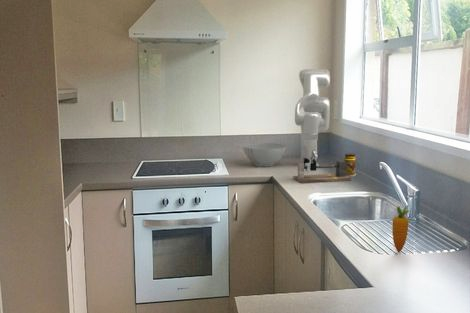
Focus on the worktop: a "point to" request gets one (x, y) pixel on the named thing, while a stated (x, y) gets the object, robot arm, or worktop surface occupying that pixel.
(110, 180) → the worktop surface
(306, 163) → the sleeve
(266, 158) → the decorative bowl
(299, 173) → the rod slider rig
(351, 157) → the condiment
